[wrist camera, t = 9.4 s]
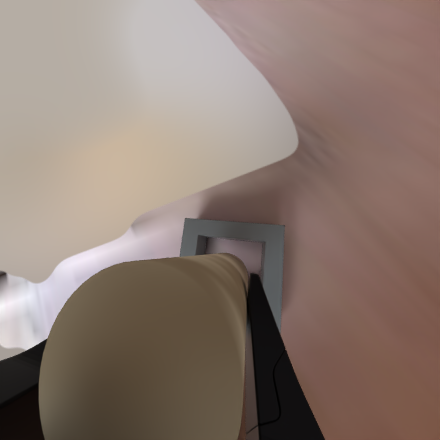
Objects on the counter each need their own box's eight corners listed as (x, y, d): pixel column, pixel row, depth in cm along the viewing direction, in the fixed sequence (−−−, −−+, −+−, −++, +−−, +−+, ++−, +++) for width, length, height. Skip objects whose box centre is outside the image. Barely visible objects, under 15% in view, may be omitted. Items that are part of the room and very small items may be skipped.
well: (273, 323, 19) (280, 342, 15) (185, 306, 21) (170, 320, 17) (278, 229, 21) (284, 225, 17) (196, 223, 23) (184, 218, 19)
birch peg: (255, 294, 15) (283, 510, 2) (209, 307, 15) (44, 543, 3) (239, 246, 16) (202, 234, 3) (196, 260, 16) (34, 292, 4)
